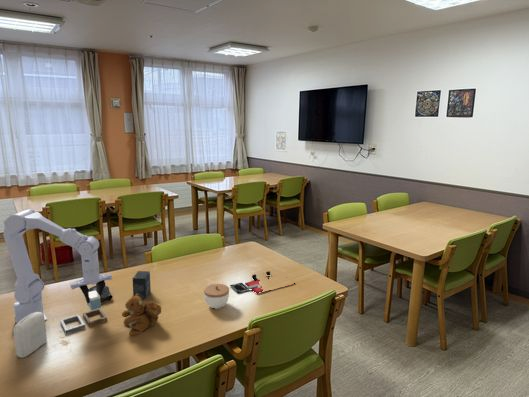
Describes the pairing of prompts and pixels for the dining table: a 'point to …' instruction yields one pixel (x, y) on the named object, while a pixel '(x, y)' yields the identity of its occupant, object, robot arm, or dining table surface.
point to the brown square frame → (91, 323)
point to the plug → (94, 300)
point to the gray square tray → (72, 327)
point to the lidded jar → (216, 295)
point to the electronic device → (103, 293)
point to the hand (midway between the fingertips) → (93, 300)
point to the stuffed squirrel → (140, 314)
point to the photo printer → (29, 334)
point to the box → (142, 284)
